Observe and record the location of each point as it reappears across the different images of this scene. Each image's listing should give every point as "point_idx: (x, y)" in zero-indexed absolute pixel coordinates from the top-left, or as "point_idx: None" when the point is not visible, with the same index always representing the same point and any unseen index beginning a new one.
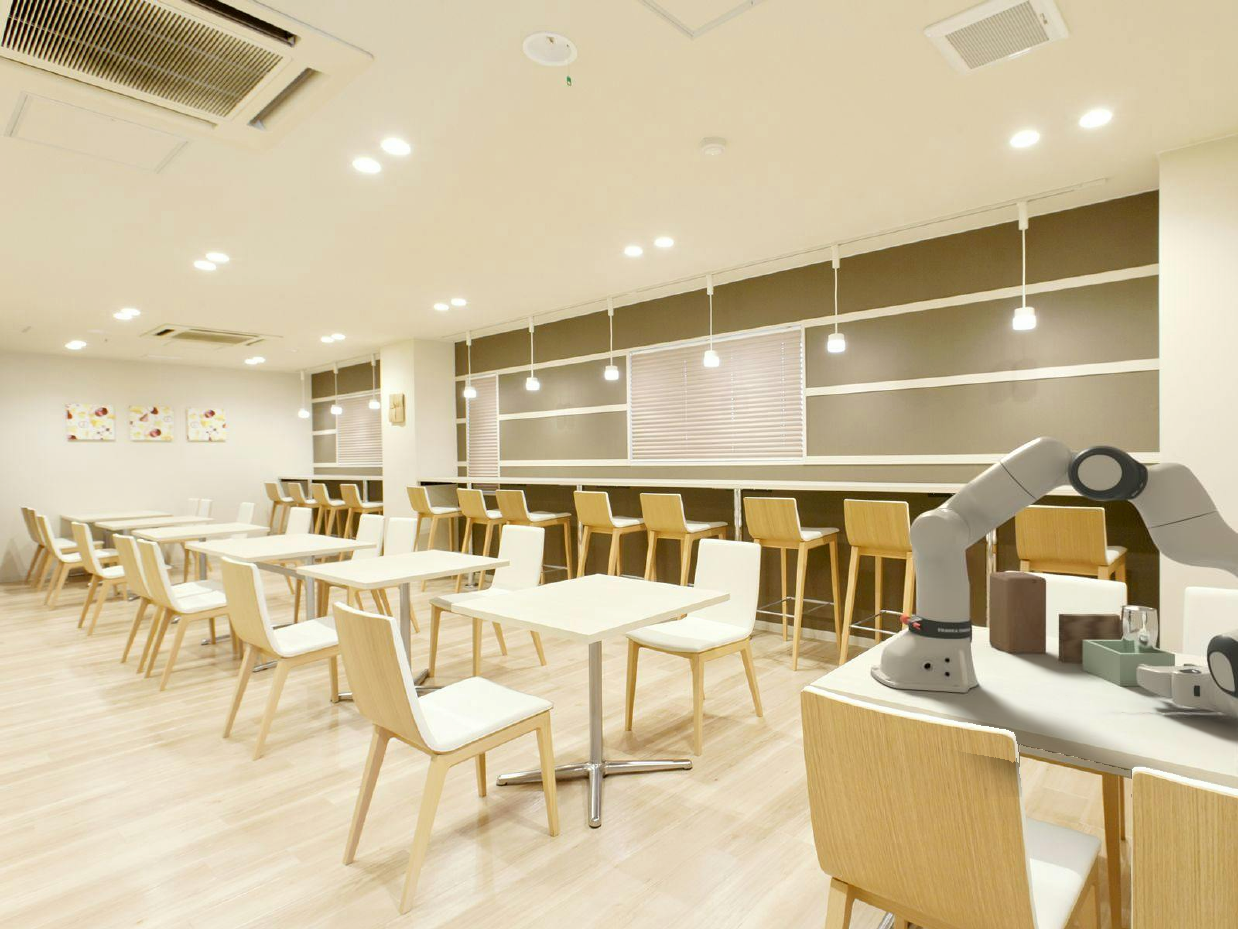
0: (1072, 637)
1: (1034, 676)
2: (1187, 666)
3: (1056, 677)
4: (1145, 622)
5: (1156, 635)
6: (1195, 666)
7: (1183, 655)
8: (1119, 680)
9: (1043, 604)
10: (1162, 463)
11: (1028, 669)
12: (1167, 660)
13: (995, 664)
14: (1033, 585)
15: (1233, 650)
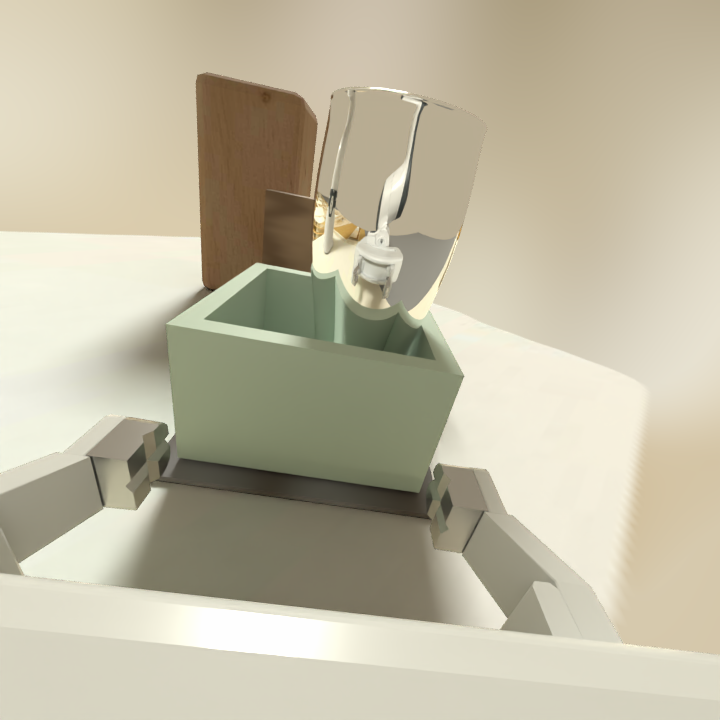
0: (286, 262)
1: (35, 346)
2: (273, 656)
3: (99, 362)
4: (376, 172)
5: (424, 266)
6: (388, 676)
7: (567, 355)
8: (178, 436)
9: (285, 176)
10: None
11: (115, 322)
12: (416, 396)
13: (79, 296)
14: (261, 109)
15: None
